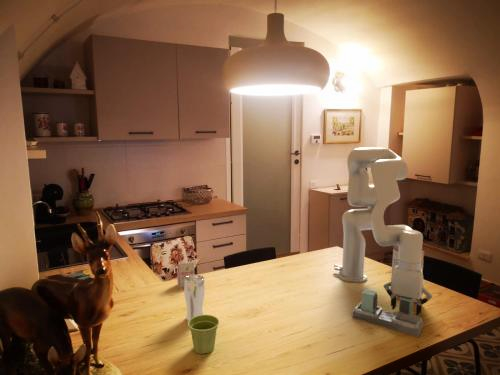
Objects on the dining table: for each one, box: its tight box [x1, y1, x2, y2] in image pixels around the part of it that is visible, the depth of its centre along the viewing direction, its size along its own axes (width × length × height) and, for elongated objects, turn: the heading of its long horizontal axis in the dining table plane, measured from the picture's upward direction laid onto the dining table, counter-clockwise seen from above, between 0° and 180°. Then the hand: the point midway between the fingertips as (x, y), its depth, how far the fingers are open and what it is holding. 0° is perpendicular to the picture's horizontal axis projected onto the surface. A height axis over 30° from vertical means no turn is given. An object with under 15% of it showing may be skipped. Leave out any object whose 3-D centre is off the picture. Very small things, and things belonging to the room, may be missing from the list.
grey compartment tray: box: [351, 301, 424, 338], centre depth 130 cm, size 22×7×4 cm, turn 55°
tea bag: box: [176, 261, 196, 289], centre depth 159 cm, size 4×7×10 cm, turn 110°
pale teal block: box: [398, 296, 414, 315], centre depth 135 cm, size 4×4×7 cm
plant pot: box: [187, 314, 220, 355], centre depth 113 cm, size 9×9×9 cm
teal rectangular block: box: [360, 288, 379, 313], centre depth 133 cm, size 4×4×7 cm
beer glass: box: [183, 274, 205, 322], centre depth 130 cm, size 7×7×15 cm
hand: (405, 310), depth 135 cm, fingers open, 7 cm apart
